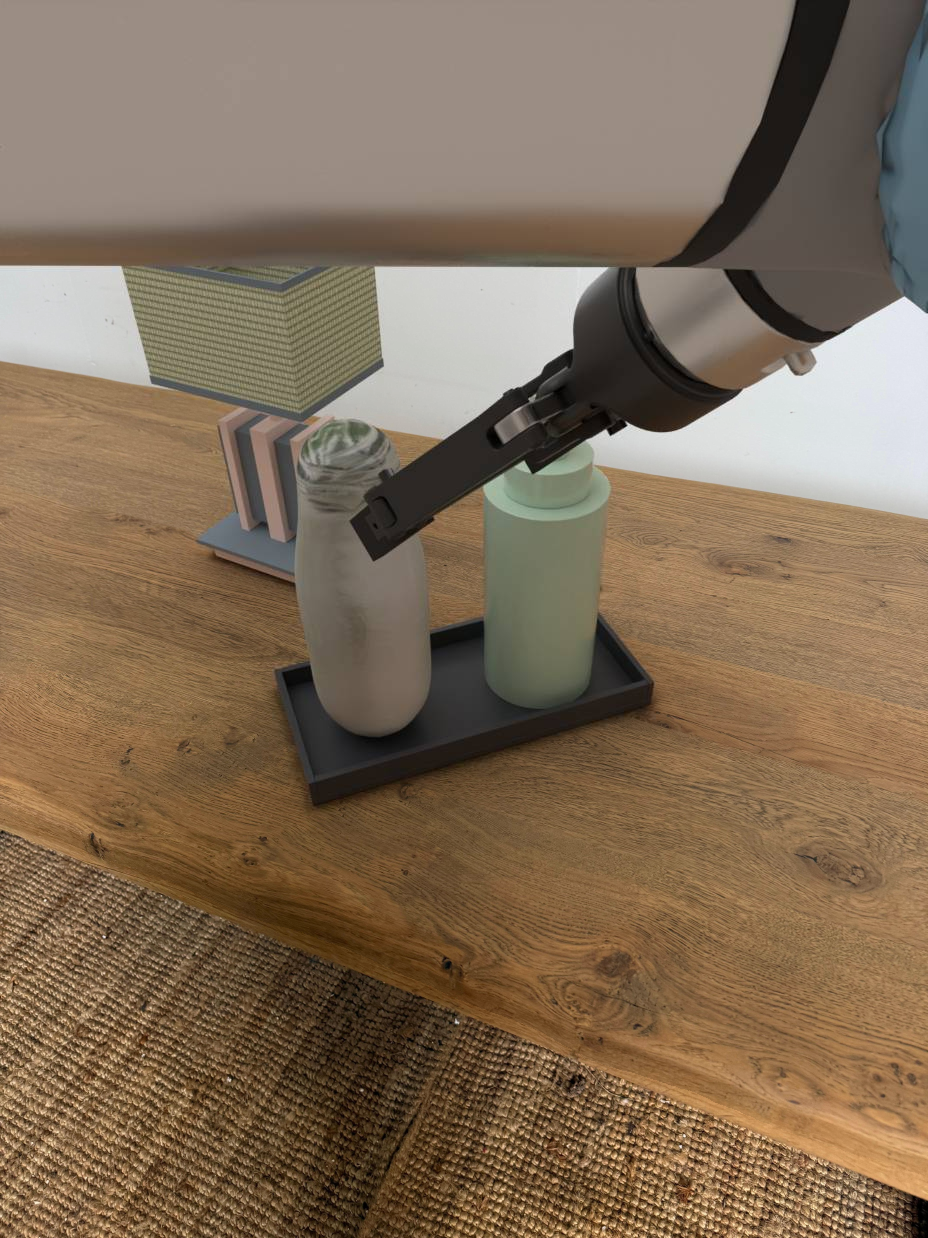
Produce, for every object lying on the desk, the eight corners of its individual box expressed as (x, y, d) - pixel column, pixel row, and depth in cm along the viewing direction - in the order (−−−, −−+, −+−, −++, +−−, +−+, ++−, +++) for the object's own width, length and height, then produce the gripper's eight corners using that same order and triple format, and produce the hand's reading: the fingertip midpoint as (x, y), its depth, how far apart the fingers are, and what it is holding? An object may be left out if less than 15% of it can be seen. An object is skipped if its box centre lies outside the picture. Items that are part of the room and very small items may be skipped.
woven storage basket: (399, 534, 100) (375, 237, 79) (327, 602, 90) (278, 284, 70) (273, 496, 107) (221, 214, 86) (195, 555, 97) (114, 254, 76)
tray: (312, 806, 70) (308, 784, 68) (278, 691, 80) (273, 669, 79) (651, 704, 78) (654, 682, 76) (580, 612, 88) (582, 590, 87)
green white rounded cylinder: (314, 687, 79) (263, 405, 62) (423, 668, 81) (404, 388, 63) (326, 768, 72) (273, 473, 54) (446, 745, 74) (432, 452, 56)
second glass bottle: (471, 698, 78) (466, 413, 60) (498, 628, 85) (500, 356, 67) (581, 718, 76) (610, 428, 58) (598, 645, 83) (628, 368, 65)
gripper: (541, 510, 29) (320, 641, 47) (880, 311, 42) (607, 472, 60) (427, 312, 28) (248, 521, 46) (806, 174, 42) (553, 378, 60)
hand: (451, 494), depth 53 cm, fingers open, 13 cm apart
